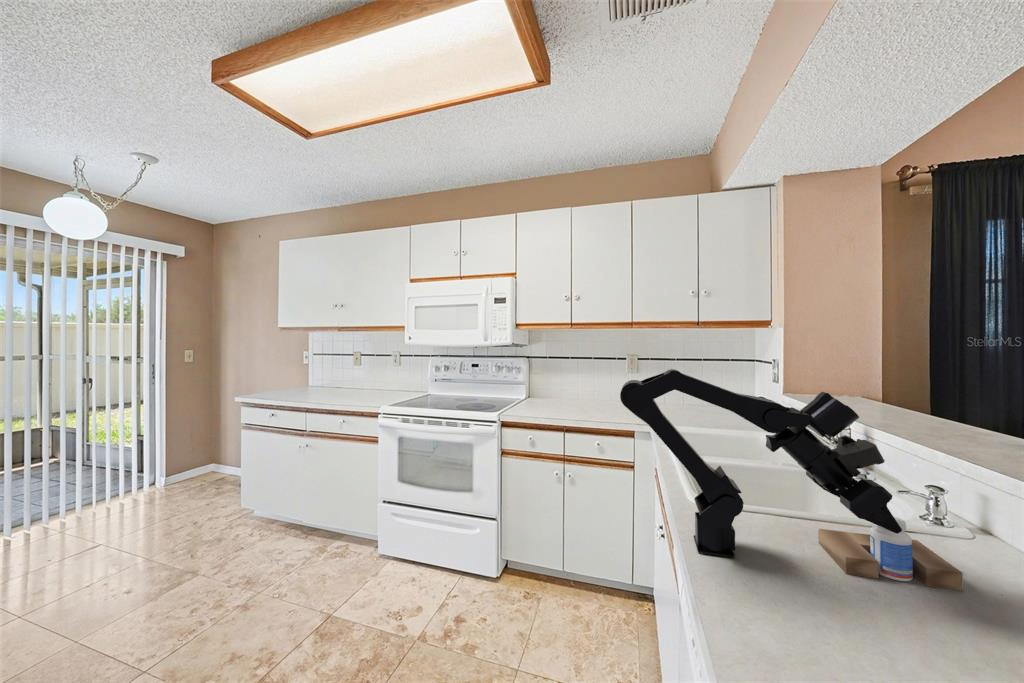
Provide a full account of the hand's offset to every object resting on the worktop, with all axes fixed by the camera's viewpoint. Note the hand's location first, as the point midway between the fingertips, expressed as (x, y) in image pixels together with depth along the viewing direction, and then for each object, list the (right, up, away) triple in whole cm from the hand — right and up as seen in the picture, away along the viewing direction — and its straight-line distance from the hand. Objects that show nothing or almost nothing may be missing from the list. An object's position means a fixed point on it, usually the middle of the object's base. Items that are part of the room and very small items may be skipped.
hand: (882, 519), depth 70 cm
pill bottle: (+1, -10, 0) cm, 10 cm away
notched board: (+2, -9, +2) cm, 10 cm away
